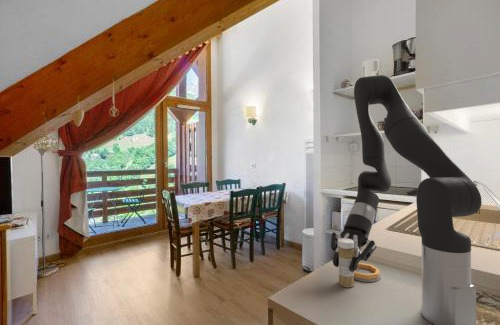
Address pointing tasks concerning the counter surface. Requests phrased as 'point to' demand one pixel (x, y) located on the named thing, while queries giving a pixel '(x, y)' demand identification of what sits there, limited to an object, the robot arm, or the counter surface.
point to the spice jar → (345, 262)
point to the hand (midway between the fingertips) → (343, 267)
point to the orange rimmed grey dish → (367, 273)
